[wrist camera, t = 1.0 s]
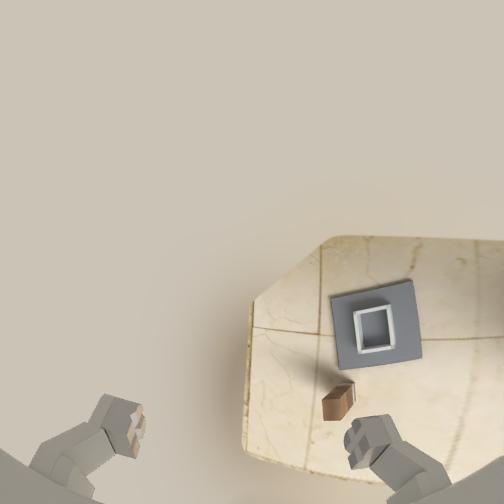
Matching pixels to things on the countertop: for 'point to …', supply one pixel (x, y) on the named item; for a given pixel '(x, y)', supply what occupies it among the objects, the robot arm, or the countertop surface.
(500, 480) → the robot arm
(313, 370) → the countertop surface
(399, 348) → the grey socket base
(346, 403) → the block
